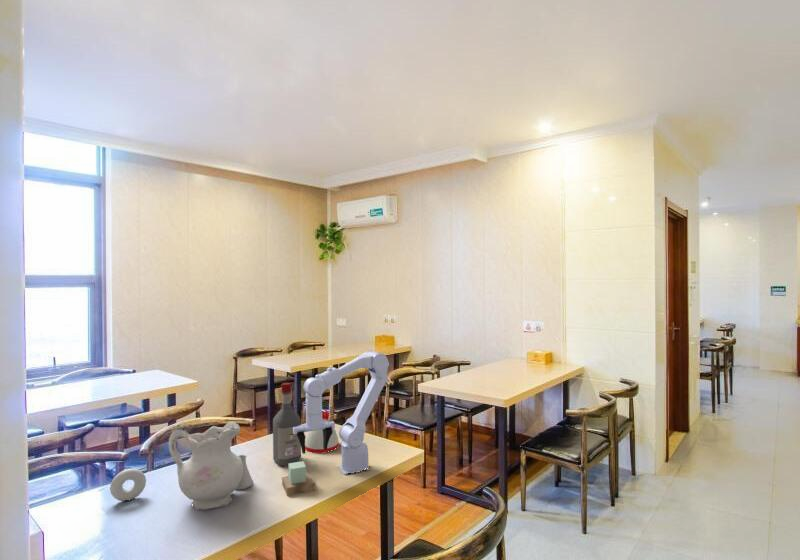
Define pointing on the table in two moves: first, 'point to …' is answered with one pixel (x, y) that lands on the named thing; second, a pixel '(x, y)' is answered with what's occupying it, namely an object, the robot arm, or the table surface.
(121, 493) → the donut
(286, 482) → the walnut base
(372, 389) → the robot arm
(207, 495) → the ceramic pitcher
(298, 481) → the sage cube
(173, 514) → the table surface
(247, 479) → the flask
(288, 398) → the liquor
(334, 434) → the white bell
